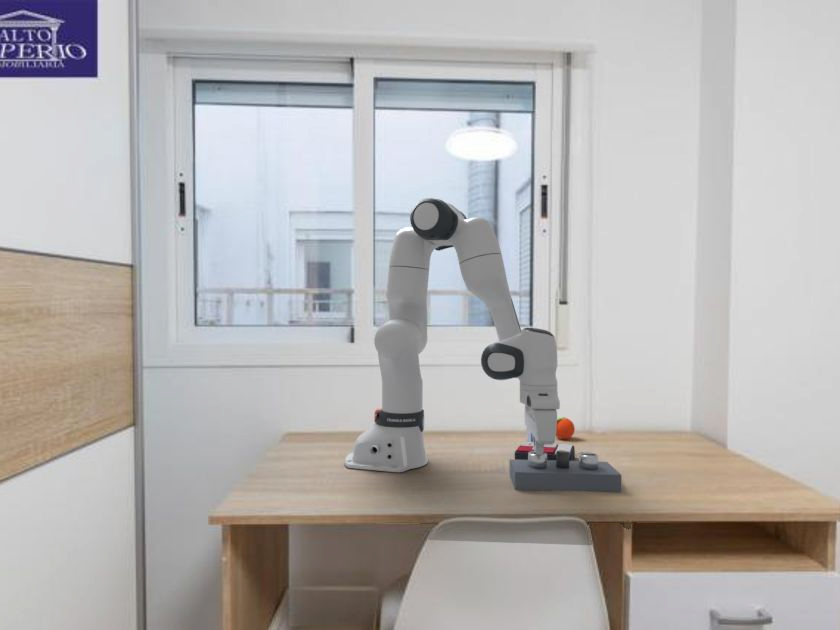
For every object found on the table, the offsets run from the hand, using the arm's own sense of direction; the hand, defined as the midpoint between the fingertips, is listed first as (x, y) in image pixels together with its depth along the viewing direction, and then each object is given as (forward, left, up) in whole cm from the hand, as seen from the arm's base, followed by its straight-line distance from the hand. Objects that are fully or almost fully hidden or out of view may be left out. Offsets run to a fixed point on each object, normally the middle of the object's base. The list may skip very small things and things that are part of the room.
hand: (538, 453), depth 116 cm
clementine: (+16, +43, -7) cm, 46 cm away
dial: (+6, 0, -3) cm, 7 cm away
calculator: (+6, +20, -8) cm, 22 cm away
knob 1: (0, 0, -7) cm, 7 cm away
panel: (+6, 0, -7) cm, 9 cm away
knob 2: (+12, 0, -7) cm, 14 cm away
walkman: (+6, +30, -7) cm, 32 cm away
